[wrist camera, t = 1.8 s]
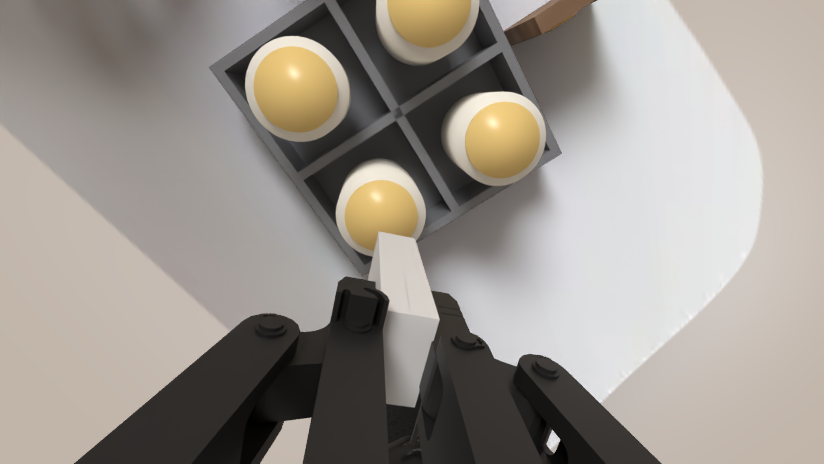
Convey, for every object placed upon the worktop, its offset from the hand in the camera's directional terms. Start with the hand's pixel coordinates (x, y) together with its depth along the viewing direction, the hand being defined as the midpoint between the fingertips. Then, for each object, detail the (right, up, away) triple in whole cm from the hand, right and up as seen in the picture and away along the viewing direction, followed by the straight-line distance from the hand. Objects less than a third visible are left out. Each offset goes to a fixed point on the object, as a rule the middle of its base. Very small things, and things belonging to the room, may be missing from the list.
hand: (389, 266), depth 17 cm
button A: (-5, +10, +9) cm, 14 cm away
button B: (+1, +14, +8) cm, 16 cm away
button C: (-1, +4, +11) cm, 12 cm away
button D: (+5, +8, +10) cm, 14 cm away
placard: (+10, +17, +12) cm, 23 cm away
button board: (0, +10, +13) cm, 17 cm away
